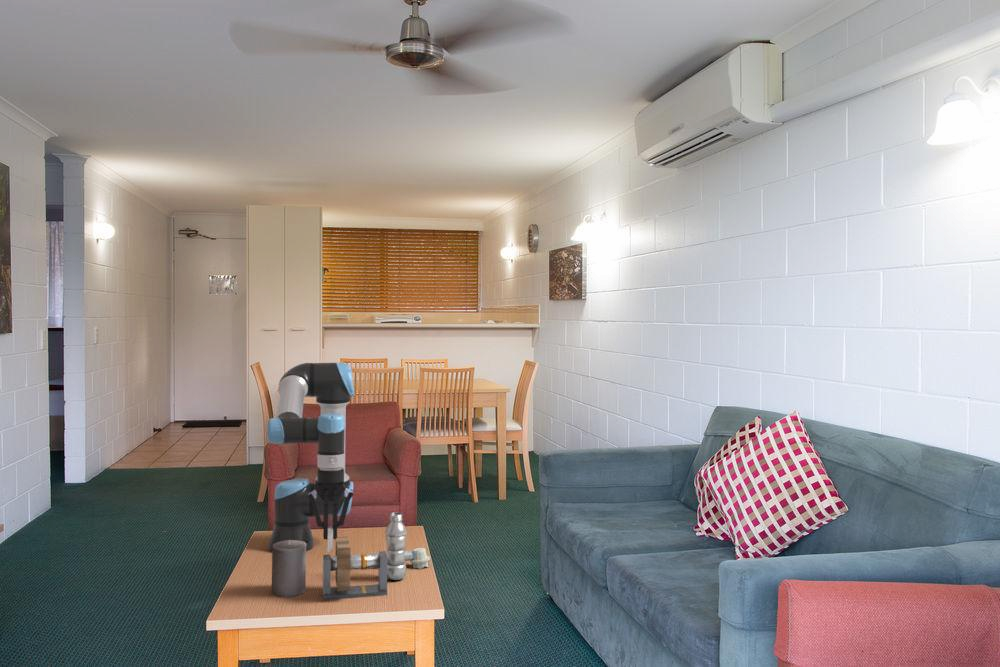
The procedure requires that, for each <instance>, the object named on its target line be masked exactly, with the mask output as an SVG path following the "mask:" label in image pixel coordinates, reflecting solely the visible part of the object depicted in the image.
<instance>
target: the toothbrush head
mask: <svg viewBox="0 0 1000 667" xmlns="http://www.w3.org/2000/svg"><path fill="white" fill-rule="evenodd" d="M377 554H379V552H378V553H377ZM386 554H387V552H386ZM404 554H405V562H410V563H411V568H413V569H414V568H415V569H419V570H420V569H421V570H422V569H424V568H428V567H430V561H431V557H430V556H429V555H427V550H426V548H425V547H418V548H414V549H412V550H405V552H404Z"/></svg>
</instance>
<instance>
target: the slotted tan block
mask: <svg viewBox="0 0 1000 667" xmlns="http://www.w3.org/2000/svg"><path fill="white" fill-rule="evenodd" d="M349 540H350V539H349V536H337V539H335V556H337V571H334V573H335V574H334V575H335V584H336V585H335V586H336V587H337V591H347V590H350V586H351V570H350V555H351V544H350V541H349Z"/></svg>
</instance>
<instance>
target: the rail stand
mask: <svg viewBox="0 0 1000 667" xmlns="http://www.w3.org/2000/svg"><path fill="white" fill-rule="evenodd" d="M378 553H379V554H378ZM378 553H368V554H367V553H360V554H352V555H351V554H350V571H351V570H362V571H363V570H368V569H378V573H377V574H378V577H377V578H378V579H377V580H378V582H377V584H359V585H350V590H347V591H337V586H336V587H331V586H332V585H331V578H332V576H331V574H332V573H331V572H335V571H337V556H336V555H334V556H331V554H322V599H323V601H325V600H326V601H327V600H339V599H352V598H354V599H355V598H364V597H366V598H367V597H378V596H388V579H387V554H386V553H387V550H383V551H382V550H381V551H380V550H379V551H378Z"/></svg>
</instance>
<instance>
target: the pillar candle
mask: <svg viewBox="0 0 1000 667" xmlns="http://www.w3.org/2000/svg"><path fill="white" fill-rule="evenodd" d="M271 552H272V553H271V594H272V595H273V596H277V597H281V598H284V597H285V598H288V597H289V598H290V597H294V596H295V597H296V596H300V595H302V594H303V593H304V592H305V591H306V583H307V582H306V580H307V579H306V577H307V576H306V574H307V572H306V571H307V570H306V569H307V551H306V542H302V541H297V540H286V541H280V542H277V543H275V544H273V546H272V551H271Z"/></svg>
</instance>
